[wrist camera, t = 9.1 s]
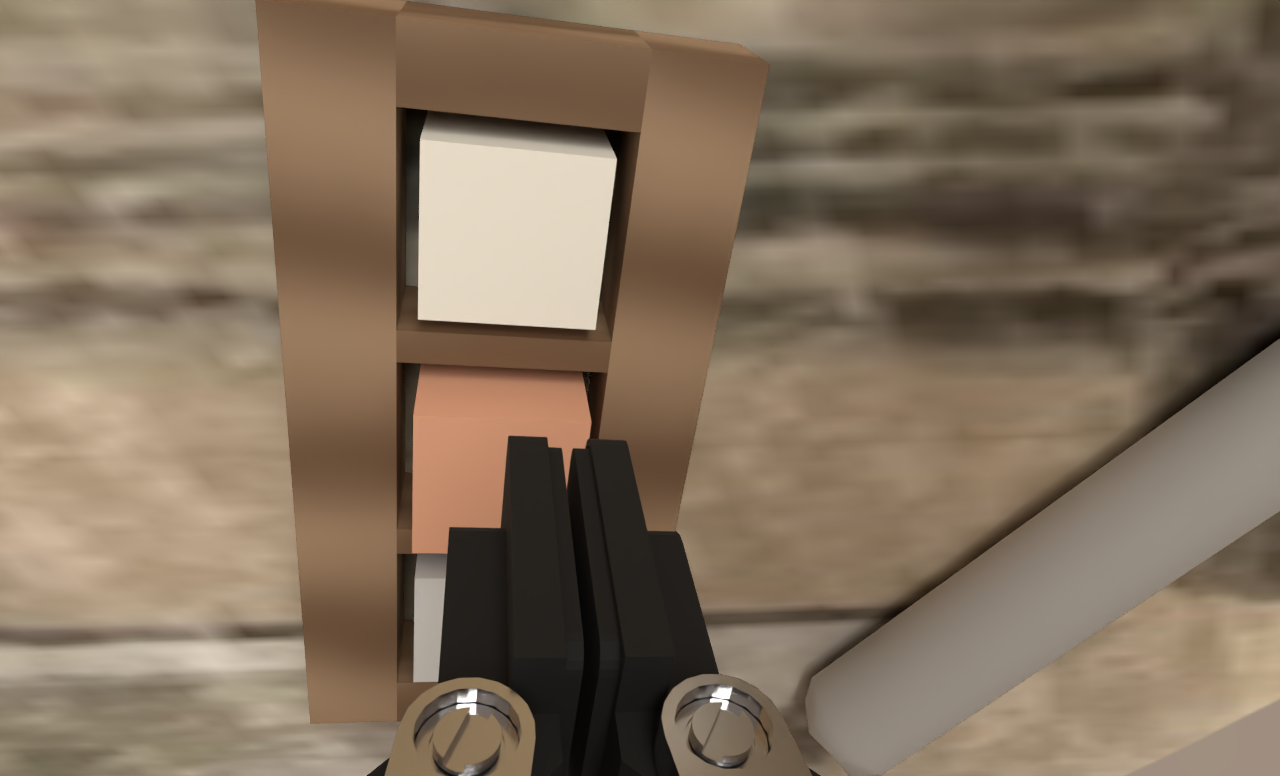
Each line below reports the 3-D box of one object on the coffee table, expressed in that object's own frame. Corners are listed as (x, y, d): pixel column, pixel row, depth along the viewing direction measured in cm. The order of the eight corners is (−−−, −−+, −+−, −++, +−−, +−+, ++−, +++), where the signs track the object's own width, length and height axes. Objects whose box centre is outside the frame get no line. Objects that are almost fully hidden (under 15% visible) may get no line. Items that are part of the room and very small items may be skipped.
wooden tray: (283, -15, 21) (255, -1, 19) (740, 44, 24) (770, 64, 21) (324, 658, 33) (310, 723, 31) (627, 653, 36) (637, 713, 33)
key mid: (421, 361, 25) (413, 415, 23) (581, 369, 26) (591, 422, 24) (419, 491, 28) (411, 553, 25) (566, 494, 29) (574, 554, 26)
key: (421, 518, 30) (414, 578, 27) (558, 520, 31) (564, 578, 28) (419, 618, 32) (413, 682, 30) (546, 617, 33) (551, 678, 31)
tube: (878, 803, 37) (1427, 445, 31) (823, 800, 34) (1435, 390, 27) (818, 694, 41) (1299, 350, 34) (762, 680, 37) (1290, 290, 30)
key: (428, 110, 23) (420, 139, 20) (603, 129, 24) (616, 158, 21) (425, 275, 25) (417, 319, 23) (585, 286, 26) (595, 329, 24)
